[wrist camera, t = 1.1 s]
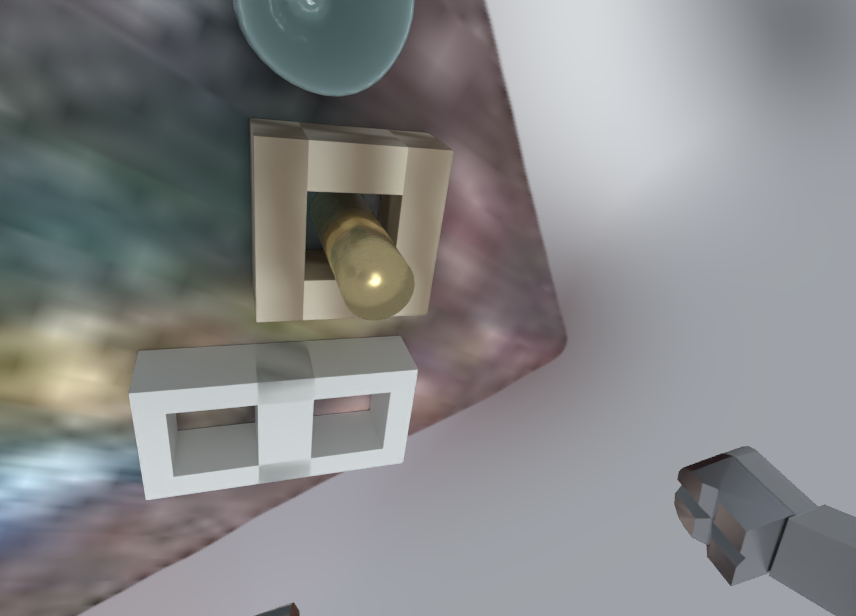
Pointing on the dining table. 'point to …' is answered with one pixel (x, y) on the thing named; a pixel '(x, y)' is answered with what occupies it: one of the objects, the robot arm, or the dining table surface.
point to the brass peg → (361, 256)
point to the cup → (326, 40)
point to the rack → (269, 411)
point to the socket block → (346, 173)
